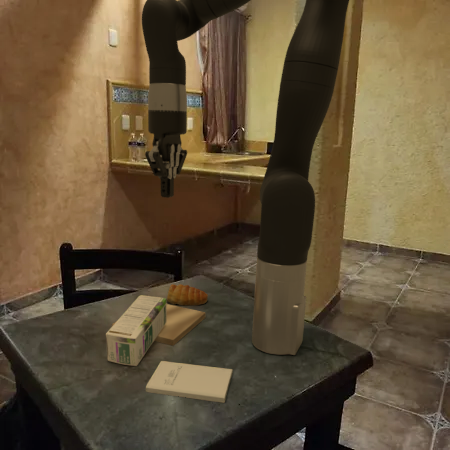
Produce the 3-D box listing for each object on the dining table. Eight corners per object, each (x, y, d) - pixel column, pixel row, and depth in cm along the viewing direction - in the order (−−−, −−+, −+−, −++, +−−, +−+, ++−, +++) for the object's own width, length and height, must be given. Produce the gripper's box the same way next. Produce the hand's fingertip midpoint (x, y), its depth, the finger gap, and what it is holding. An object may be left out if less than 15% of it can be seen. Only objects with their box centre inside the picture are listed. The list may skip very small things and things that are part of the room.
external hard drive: (224, 406, 66) (145, 395, 68) (232, 377, 74) (161, 367, 76) (224, 396, 65) (145, 385, 67) (232, 368, 73) (161, 359, 75)
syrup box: (167, 322, 88) (138, 367, 74) (139, 318, 89) (106, 362, 75) (166, 297, 86) (136, 339, 72) (138, 293, 87) (104, 334, 73)
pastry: (209, 297, 106) (209, 283, 105) (205, 309, 100) (205, 293, 99) (171, 294, 107) (171, 280, 106) (164, 305, 101) (165, 290, 100)
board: (205, 317, 95) (205, 312, 94) (173, 345, 82) (173, 339, 82) (150, 305, 100) (150, 300, 100) (111, 329, 87) (111, 324, 87)
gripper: (166, 107, 78) (166, 203, 82) (199, 111, 90) (198, 194, 94) (131, 107, 81) (133, 199, 85) (168, 110, 93) (167, 191, 97)
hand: (167, 196), depth 89 cm, fingers closed
